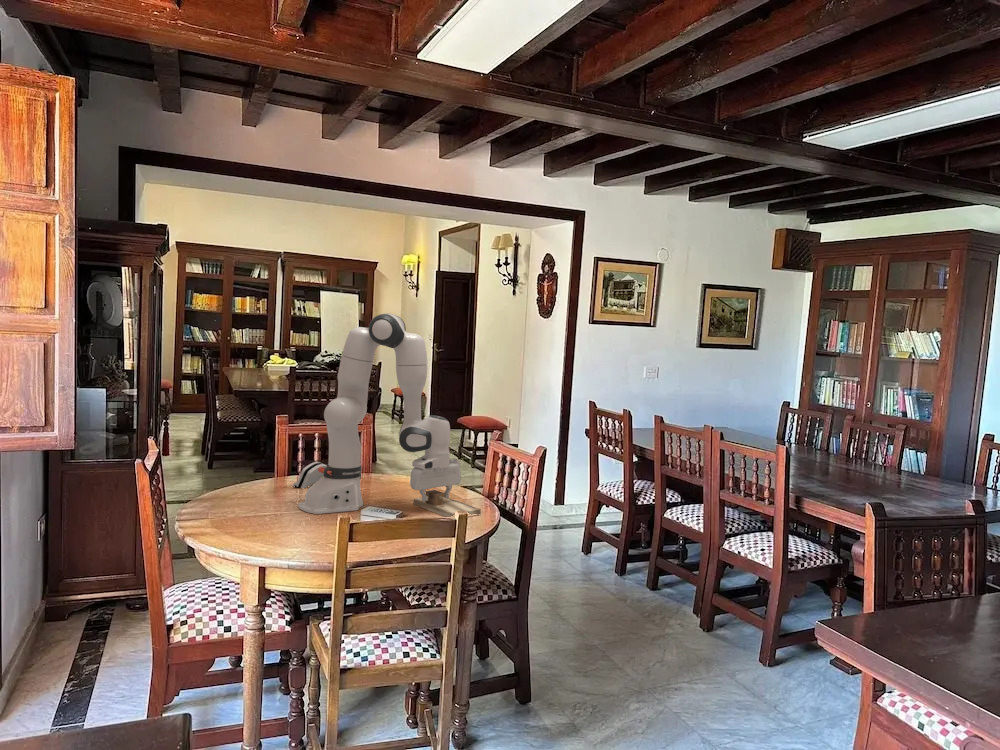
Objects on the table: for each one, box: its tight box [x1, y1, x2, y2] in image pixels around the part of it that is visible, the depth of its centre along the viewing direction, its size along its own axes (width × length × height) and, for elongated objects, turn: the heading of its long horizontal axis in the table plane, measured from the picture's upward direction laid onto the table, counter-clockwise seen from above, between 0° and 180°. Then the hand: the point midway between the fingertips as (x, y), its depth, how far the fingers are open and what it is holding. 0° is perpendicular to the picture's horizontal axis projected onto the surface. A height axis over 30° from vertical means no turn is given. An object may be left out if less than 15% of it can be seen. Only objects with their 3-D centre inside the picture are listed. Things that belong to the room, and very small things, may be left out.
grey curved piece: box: [292, 461, 328, 489], centre depth 271 cm, size 17×5×10 cm, turn 166°
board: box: [412, 497, 482, 518], centre depth 242 cm, size 12×24×2 cm, turn 42°
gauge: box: [425, 489, 447, 506], centre depth 242 cm, size 10×4×4 cm, turn 42°
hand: (435, 499), depth 242 cm, fingers open, 8 cm apart
